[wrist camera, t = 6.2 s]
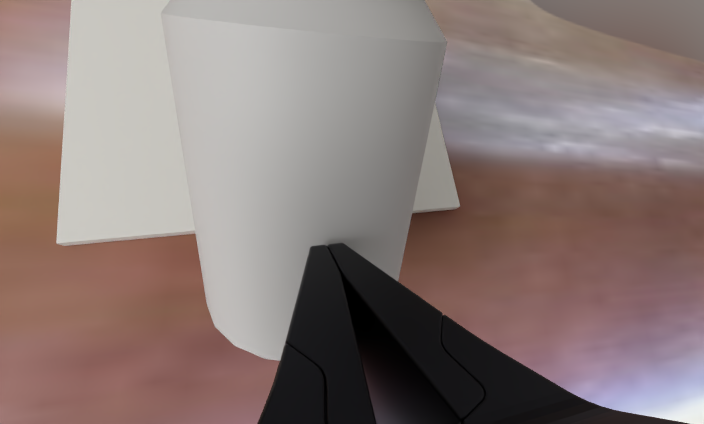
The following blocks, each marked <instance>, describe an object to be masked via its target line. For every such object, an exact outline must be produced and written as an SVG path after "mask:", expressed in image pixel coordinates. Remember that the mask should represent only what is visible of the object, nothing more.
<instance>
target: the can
mask: <svg viewBox="0 0 704 424" xmlns="http://www.w3.org/2000/svg"><path fill="white" fill-rule="evenodd" d="M161 19H162V25H163V31H164V37H165V44H166V50H167V56H168V63H169V69H170V75H171V81H172V88H173V94H174V100H175V107H176V113H177V119H178V125H179V132H180V138H181V144H182V151H183V157H184V163H185V169H186V176H187V182H188V188H189V195H190V201H191V207H192V213H193V220H194V226H195V232H196V239H197V245H198V251H199V257H200V264H201V270H202V276H203V283H204V289H205V295H206V301H207V306H208V309H209V311H210V314H211V317H212V320H213V323H214V325H215V327H216V328H217V329H218V330H219V331H220V332H221V333H222V334H223V335H224V336H225V337H226V338H227V339H228V340H229V341H230V342H231V343H232V344H233V345H235V346H237V347H239V348H241V349H243V350H246V351H248V352H250V353H253V354H255V355H257V356H260V357H262V358H264V359H270V360H279V361H280V359H281V356H282V352H283V348H284V345H285V341H286V337H287V334H288V330H289V326H290V322H291V318H292V314H293V311H294V307H295V303H296V299H297V295H298V291H299V288H300V284H301V280H302V276H303V272H304V268H305V265H306V261H307V257H308V253H309V249H310V247H311V246H316V245H326V246H327V245H328V244H334V243H344V244H345V245H347V246H348V247H350V248H351V249H353V250H354V251H355V252H357V253H358V254H360V255H361V256H362V257H364V258H365V259H367V260H368V261H370V262H371V263H372V264H374V265H375V266H377V267H378V268H379V269H381V270H382V271H384V272H385V273H386V274H388V275H389V276H391V277H392V278H394V279H395V280H396V281H398V279H399V274H400V269H401V265H402V260H403V255H404V250H405V245H406V240H407V235H408V230H409V226H410V221H411V216H412V211H413V206H414V201H415V196H416V192H417V187H418V182H419V177H420V172H421V167H422V162H423V157H424V153H425V148H426V143H427V138H428V133H429V128H430V123H431V119H432V114H433V109H434V104H435V99H436V94H437V89H438V84H439V80H440V75H441V70H442V65H443V60H444V55H445V50H446V46H447V41H446V39H445V37H444V35H443V33H442V32H441V30H440V28H439V26H438V24H437V22H436V21H435V19H434V17H433V15H432V13H431V11H430V9H429V8H428V6H427V4H426V2H425V0H170V1H169V2H168V4H167V5H166V6H165V8H164V9H163V10H162V12H161Z"/></svg>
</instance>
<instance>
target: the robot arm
mask: <svg viewBox="0 0 704 424" xmlns="http://www.w3.org/2000/svg"><path fill="white" fill-rule="evenodd" d="M258 424H688V423H683V422H677V421H672V420H666V419H660V418H655V417H649V416H643V415H638V414H632V413H627V412H621V411H616V410H612V409H609V408H605V407H602V406H599V405H596V404H594V403H591V402H589V401H586V400H584V399H582V398H580V397H578V396H576V395H574V394H572V393H570V392H568V391H567V390H565V389H563V388H561V387H560V386H558V385H556V384H555V383H553V382H551V381H550V380H548V379H546V378H545V377H543V376H541V375H539V374H538V373H536V372H534V371H533V370H531V369H529V368H528V367H526V366H524V365H523V364H521V363H519V362H517V361H516V360H514V359H512V358H511V357H509V356H507V355H506V354H504V353H502V352H501V351H499V350H497V349H496V348H494V347H493V346H491V345H489V344H488V343H486V342H484V341H483V340H481V339H480V338H478V337H477V336H475V335H474V334H472V333H471V332H469V331H468V330H466V329H465V328H463V327H462V326H460V325H459V324H457V323H456V322H455V321H453V320H452V319H450V318H449V317H447V316H446V315H443V314H442V312H440V311H439V310H437V309H436V308H435V307H433V306H432V305H430V304H429V303H427V302H426V301H425V300H423V299H422V298H420V297H419V296H418V295H416V294H415V293H413V292H412V291H411V290H409V289H408V288H406V287H405V286H403V285H402V284H401V283H399V282H398V281H396V280H395V279H394V278H392V277H391V276H389V275H388V274H386V273H385V272H384V271H382V270H381V269H379V268H378V267H377V266H375V265H374V264H372V263H371V262H370V261H368V260H367V259H365V258H364V257H362V256H361V255H360V254H358V253H357V252H355V251H354V250H353V249H351V248H350V247H348V246H347V245H345V244H344V243H334V244H328V245H327V246H326V245H316V246H311V247H310V249H309V253H308V257H307V261H306V265H305V268H304V272H303V276H302V280H301V284H300V288H299V291H298V295H297V299H296V303H295V307H294V311H293V314H292V318H291V322H290V326H289V330H288V334H287V337H286V341H285V345H284V348H283V352H282V356H281V359H280V363H279V366H278V369H277V373H276V376H275V379H274V382H273V385H272V388H271V391H270V393H269V396H268V399H267V401H266V404H265V406H264V409H263V412H262V414H261V416H260V419H259V421H258Z"/></svg>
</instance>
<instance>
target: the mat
mask: <svg viewBox="0 0 704 424" xmlns="http://www.w3.org/2000/svg"><path fill="white" fill-rule="evenodd" d="M169 1H170V0H72V2H71V18H70V34H69V50H68V66H67V82H66V98H65V114H64V130H63V146H62V162H61V178H60V194H59V210H58V226H57V242H56V243H57V244H60V245H63V246H68V245H78V244H89V243H100V242H110V241H121V240H132V239H142V238H153V237H164V236H174V235H185V234H196V232H195V226H194V220H193V213H192V207H191V201H190V195H189V188H188V182H187V176H186V169H185V163H184V157H183V151H182V144H181V138H180V132H179V125H178V119H177V113H176V107H175V100H174V94H173V88H172V81H171V75H170V69H169V63H168V56H167V50H166V44H165V37H164V31H163V25H162V19H161V12H162V10H163V9H164V8H165V6H166V5H167V4H168V2H169ZM458 207H460V203H459V199H458V195H457V191H456V187H455V183H454V179H453V175H452V170H451V166H450V162H449V158H448V154H447V150H446V146H445V142H444V137H443V133H442V129H441V125H440V121H439V117H438V113H437V109H436V104H434V109H433V114H432V119H431V123H430V128H429V133H428V138H427V143H426V148H425V153H424V157H423V162H422V167H421V172H420V177H419V182H418V187H417V192H416V196H415V201H414V206H413V211H412V213H420V212H431V211H442V210H452V209H456V208H458Z"/></svg>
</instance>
